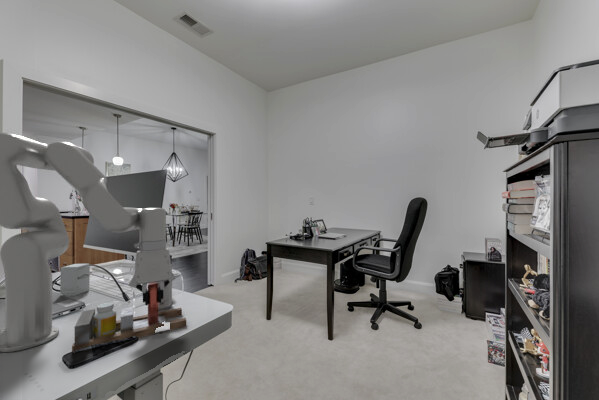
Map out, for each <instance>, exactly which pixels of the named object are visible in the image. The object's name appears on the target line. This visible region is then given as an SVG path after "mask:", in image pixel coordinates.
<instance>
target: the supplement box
mask: <svg viewBox="0 0 599 400" xmlns="http://www.w3.org/2000/svg"><path fill="white" fill-rule="evenodd" d="M90 269H91V268H90V263H73V264H70V265H66V266H62V267H60V279H59V280H60V281H59V282H60V285H59V286H60V292H59V295H60V294H62V295H65V296H64V297H69V296H70V297H72V296H73V297H76V296H78V295H80V294H83V293H86V292H89V291H90V272H91V271H90Z"/></svg>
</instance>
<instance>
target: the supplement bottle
mask: <svg viewBox="0 0 599 400" xmlns="http://www.w3.org/2000/svg"><path fill="white" fill-rule="evenodd" d="M114 307H115V306H114V302H110V301H109V302H105V303H101V304H98V305H97V306H96V312H95V315H94V332H93V338H98V337H102V336H107V335H111V334H116V333H117V330H116V321H117V311H116V309H114Z"/></svg>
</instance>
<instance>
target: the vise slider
mask: <svg viewBox="0 0 599 400" xmlns="http://www.w3.org/2000/svg"><path fill="white" fill-rule="evenodd" d="M147 291H148V305H147V315H148V319H143V320H139V321H134V322H133V317H134V306H130V307H125V308H122V309H121V312H120V320H121V329H120V332H124V331H129V330H133V329H138V328H142V327H146V326H151V325H155V324H160V323H162V322H164V321H166V322H167V320H166V319H165V315H162V316H159V312H160V311H159V305H158V283H147Z"/></svg>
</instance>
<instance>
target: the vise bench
mask: <svg viewBox="0 0 599 400" xmlns="http://www.w3.org/2000/svg"><path fill="white" fill-rule="evenodd" d="M182 311H183V309H182V307H177V308H173V309H168V310H164V311H159V316H162V315H165V319H171V318H176V317H181V316H182V315H183V312H182ZM95 314H96V308H94V309H88V310H83V311H82V312H81V313H80V314H79V315H80V316H79V318H78V320H77V321H76V323H75V325H74V342H73V343H72V345H71V353H72V352H73V351H76V350H79V349H81V348H84V347H88V346H91V345H95V344H100V343H106V342H111V341H115V340H121V339H125V338H130V337H133V336H137V337H138V338H137V339H139V338H144V337H147V336H148V337H149V336H152V335H155V330H156V328H158V327H161V326H164V324H162V323H160V324H155V325H151V326H146V327H142V328H138V329H133V330H129V331H124V332H121V331H120V332H116V334H111V335H107V336H102V337H98V338H93V332H94V315H95ZM143 319H148V314H143V315H139V316H135V317H134V316H133V322H134V321H139V320H143ZM168 322H170V329H171V330H170V331H172V330H177V329H180V328H185V327H187V318H186V317H183V318H179V319H178V318H177V319H174V320H169V321H168ZM117 330H121V319H119V320H118V319H117V320H116V331H117Z"/></svg>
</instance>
